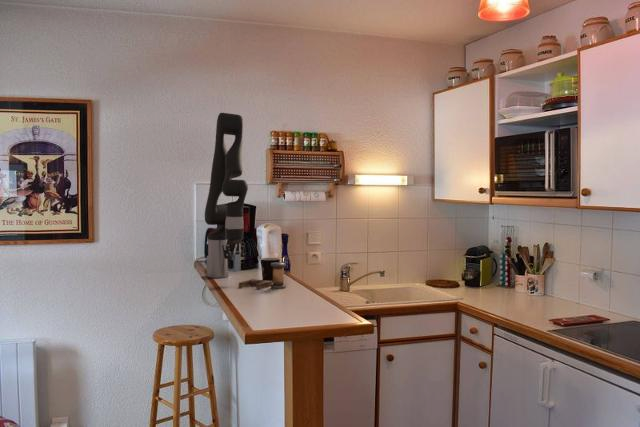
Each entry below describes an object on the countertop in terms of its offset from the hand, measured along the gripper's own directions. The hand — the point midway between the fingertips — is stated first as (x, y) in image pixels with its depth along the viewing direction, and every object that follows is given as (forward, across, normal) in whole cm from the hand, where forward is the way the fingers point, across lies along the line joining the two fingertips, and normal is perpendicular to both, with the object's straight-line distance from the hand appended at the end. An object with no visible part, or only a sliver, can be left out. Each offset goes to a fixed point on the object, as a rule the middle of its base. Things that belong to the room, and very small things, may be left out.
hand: (233, 267), depth 225 cm
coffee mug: (+7, -16, +8) cm, 20 cm away
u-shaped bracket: (+7, -1, +10) cm, 13 cm away
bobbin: (+7, -3, +20) cm, 21 cm away
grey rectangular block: (+1, 0, 0) cm, 1 cm away
